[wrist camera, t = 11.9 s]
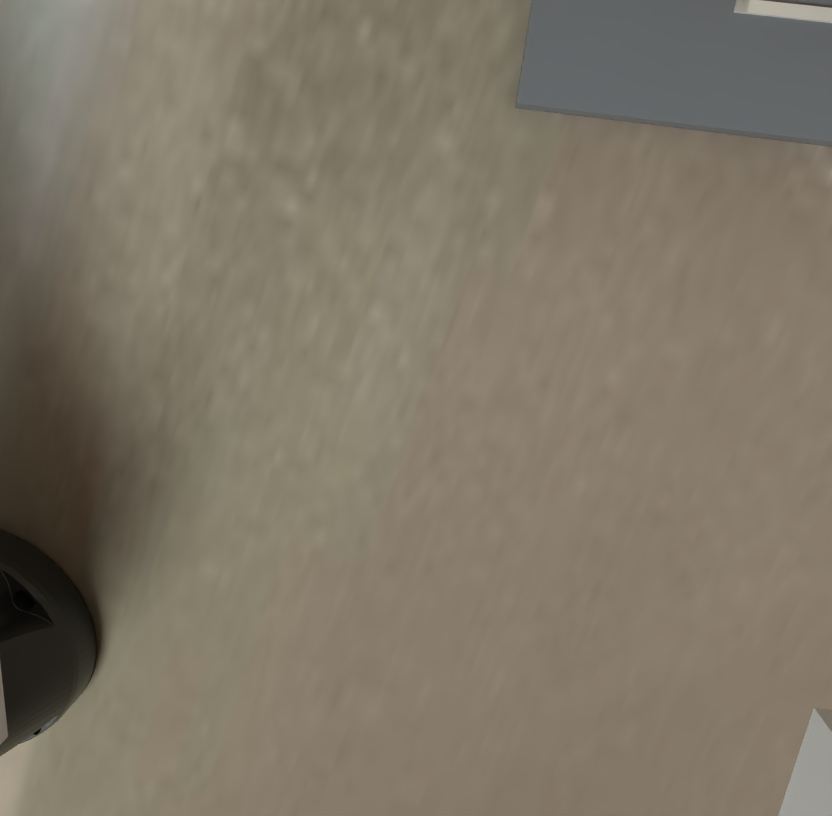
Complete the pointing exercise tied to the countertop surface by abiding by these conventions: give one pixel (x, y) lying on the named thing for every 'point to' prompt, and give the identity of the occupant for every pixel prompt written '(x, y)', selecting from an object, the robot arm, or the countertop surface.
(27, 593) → the robot arm
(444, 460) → the countertop surface
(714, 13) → the board
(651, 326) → the countertop surface
